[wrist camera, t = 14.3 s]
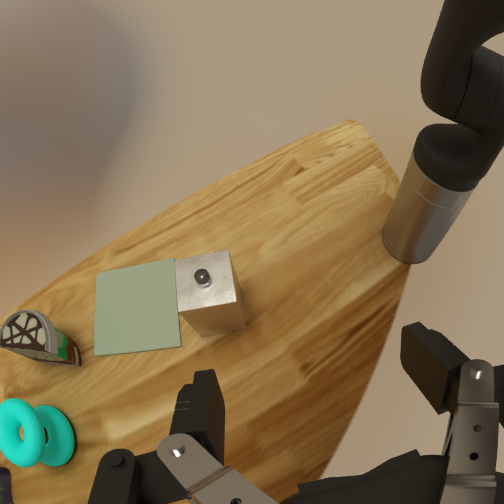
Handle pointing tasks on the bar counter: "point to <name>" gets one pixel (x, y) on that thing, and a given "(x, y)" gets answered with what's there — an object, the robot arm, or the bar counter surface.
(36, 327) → the food container
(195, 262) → the steel cover
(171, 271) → the rubber mat
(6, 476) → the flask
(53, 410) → the donuts
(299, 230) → the bar counter surface
